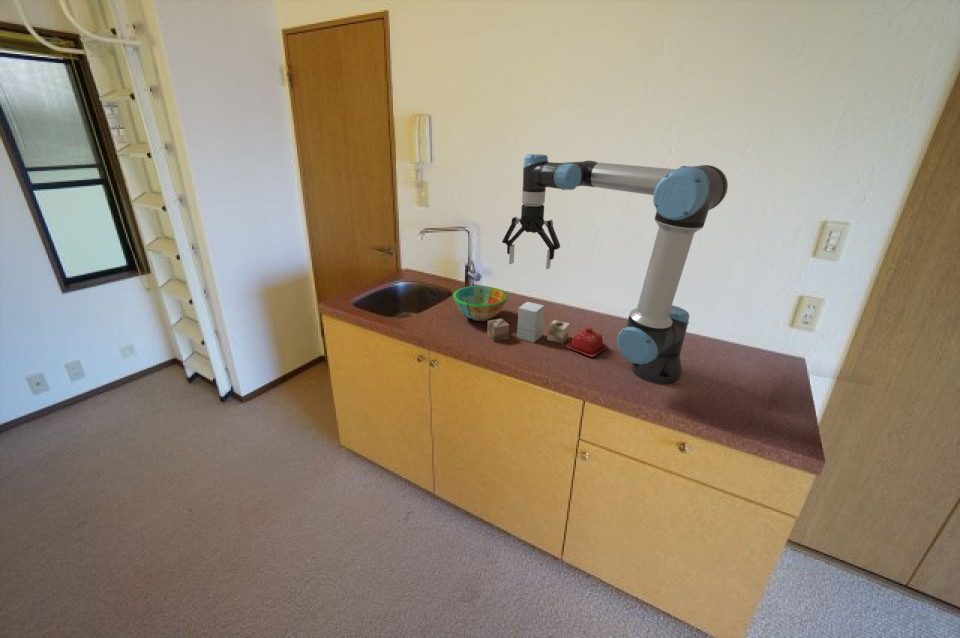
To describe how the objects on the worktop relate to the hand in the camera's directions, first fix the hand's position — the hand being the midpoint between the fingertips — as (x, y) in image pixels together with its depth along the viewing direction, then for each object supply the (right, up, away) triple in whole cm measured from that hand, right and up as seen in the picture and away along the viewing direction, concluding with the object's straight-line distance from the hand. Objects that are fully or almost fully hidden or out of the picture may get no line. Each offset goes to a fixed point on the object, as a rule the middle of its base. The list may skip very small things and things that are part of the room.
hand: (529, 265), depth 148 cm
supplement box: (+1, -26, +11) cm, 28 cm away
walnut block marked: (-11, -26, +10) cm, 30 cm away
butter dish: (+21, -30, +4) cm, 37 cm away
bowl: (-17, -18, +26) cm, 36 cm away
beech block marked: (+12, -26, +10) cm, 31 cm away
